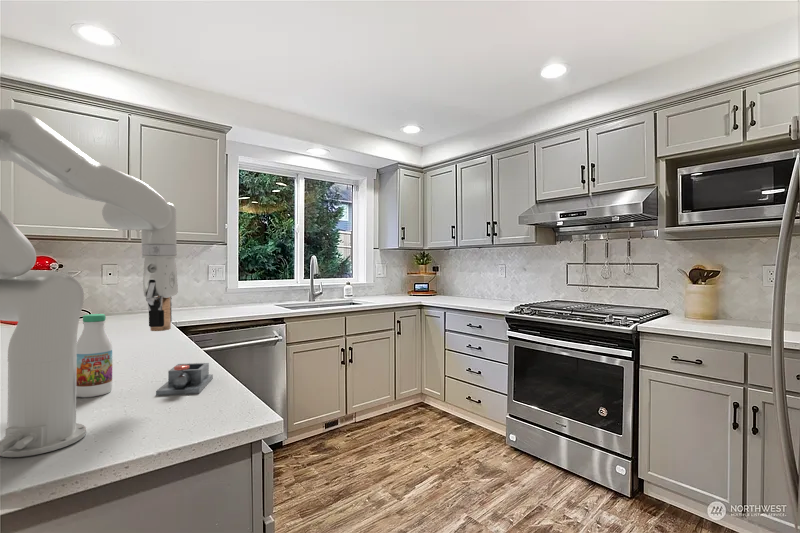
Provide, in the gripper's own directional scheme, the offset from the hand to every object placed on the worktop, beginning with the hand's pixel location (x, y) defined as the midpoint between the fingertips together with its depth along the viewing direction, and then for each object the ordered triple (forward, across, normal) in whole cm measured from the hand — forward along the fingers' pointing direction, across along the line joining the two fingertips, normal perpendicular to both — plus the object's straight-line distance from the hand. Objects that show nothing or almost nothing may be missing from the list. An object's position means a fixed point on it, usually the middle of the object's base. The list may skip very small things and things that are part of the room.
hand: (160, 323), depth 102 cm
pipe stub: (+1, 0, 0) cm, 1 cm away
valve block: (+18, +6, -4) cm, 20 cm away
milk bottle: (+18, +4, +17) cm, 25 cm away
